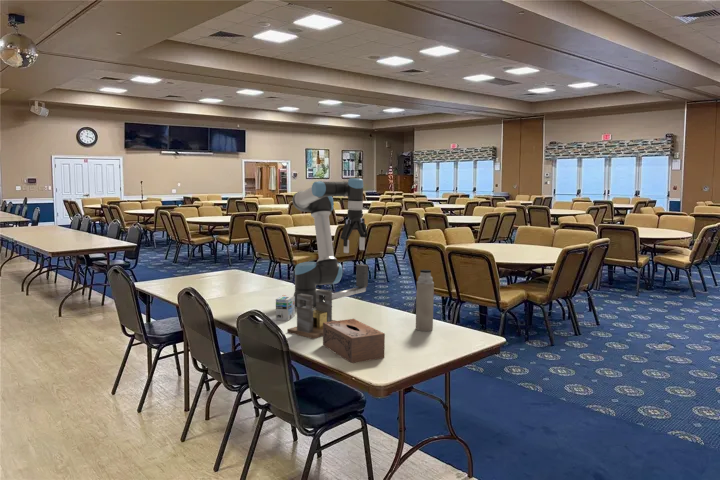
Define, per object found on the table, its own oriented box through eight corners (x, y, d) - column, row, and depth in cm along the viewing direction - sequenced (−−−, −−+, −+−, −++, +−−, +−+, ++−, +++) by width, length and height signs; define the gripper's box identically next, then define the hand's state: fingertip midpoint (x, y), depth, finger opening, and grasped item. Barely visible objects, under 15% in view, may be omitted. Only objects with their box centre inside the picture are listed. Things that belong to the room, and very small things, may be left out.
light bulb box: (288, 321, 271) (288, 299, 270) (275, 320, 272) (275, 298, 271) (295, 316, 281) (295, 295, 280) (282, 315, 282) (282, 294, 281)
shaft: (359, 291, 284) (360, 264, 282) (367, 292, 281) (368, 265, 279) (321, 300, 260) (321, 271, 258) (329, 302, 257) (329, 272, 255)
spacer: (315, 324, 259) (315, 310, 259) (326, 327, 255) (327, 312, 254) (308, 326, 255) (308, 311, 255) (319, 329, 251) (319, 314, 250)
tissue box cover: (322, 345, 232) (323, 322, 231) (353, 341, 239) (353, 318, 238) (351, 363, 210) (352, 338, 209) (384, 358, 217) (384, 333, 216)
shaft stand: (324, 321, 272) (325, 285, 270) (350, 326, 262) (350, 289, 260) (287, 332, 251) (287, 293, 249) (313, 338, 241) (314, 298, 240)
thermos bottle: (417, 326, 265) (419, 268, 262) (434, 327, 262) (435, 269, 259) (413, 330, 258) (415, 270, 255) (430, 331, 255) (432, 271, 252)
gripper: (363, 207, 289) (362, 248, 292) (333, 210, 269) (333, 253, 272) (375, 208, 285) (374, 249, 288) (346, 211, 265) (345, 254, 268)
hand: (354, 251), depth 280 cm, fingers open, 13 cm apart
